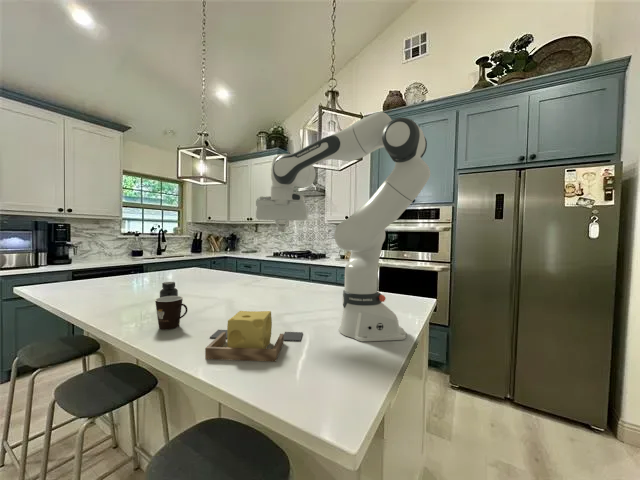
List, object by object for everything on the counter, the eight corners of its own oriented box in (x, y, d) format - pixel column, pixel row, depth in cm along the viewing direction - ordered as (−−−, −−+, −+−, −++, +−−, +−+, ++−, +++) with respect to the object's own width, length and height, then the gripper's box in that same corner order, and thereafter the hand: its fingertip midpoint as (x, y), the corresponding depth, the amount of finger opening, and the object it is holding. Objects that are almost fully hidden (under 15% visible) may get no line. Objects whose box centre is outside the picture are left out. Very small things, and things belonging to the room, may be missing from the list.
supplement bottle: (161, 309, 125) (161, 281, 124) (179, 308, 127) (179, 280, 126) (158, 313, 118) (157, 284, 118) (176, 312, 120) (176, 283, 120)
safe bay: (283, 343, 90) (283, 333, 90) (275, 361, 77) (275, 350, 77) (222, 341, 91) (222, 331, 91) (205, 359, 78) (205, 348, 78)
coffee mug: (152, 326, 103) (151, 298, 103) (177, 321, 109) (177, 294, 109) (162, 335, 95) (162, 304, 95) (189, 329, 101) (189, 300, 101)
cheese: (262, 357, 80) (263, 321, 80) (224, 355, 81) (225, 319, 81) (271, 342, 91) (272, 310, 90) (238, 340, 92) (238, 309, 91)
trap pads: (302, 333, 99) (302, 332, 99) (300, 341, 92) (300, 340, 92) (218, 330, 100) (218, 329, 100) (209, 338, 93) (209, 337, 93)
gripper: (254, 195, 112) (253, 231, 113) (307, 196, 111) (306, 232, 112) (258, 197, 118) (257, 231, 119) (308, 197, 118) (307, 232, 118)
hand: (281, 231), depth 115 cm, fingers closed
